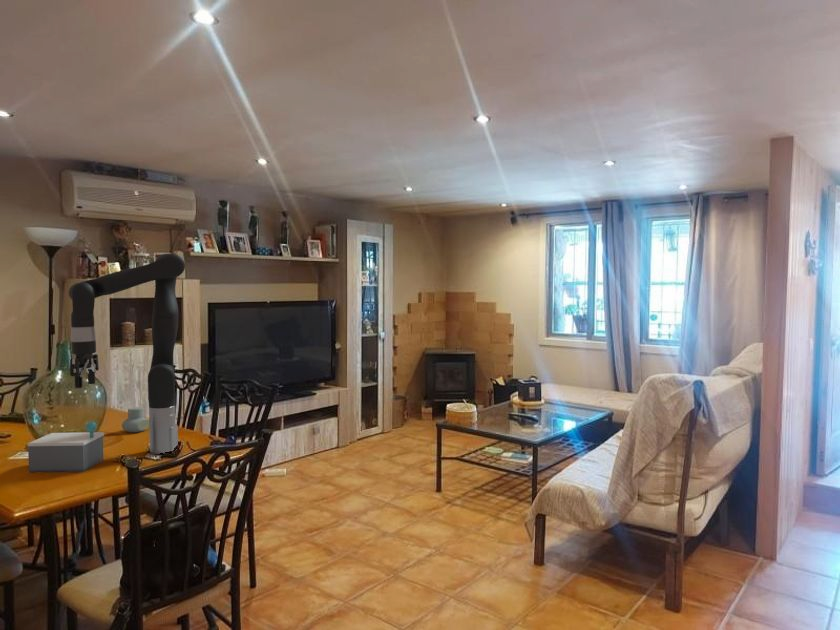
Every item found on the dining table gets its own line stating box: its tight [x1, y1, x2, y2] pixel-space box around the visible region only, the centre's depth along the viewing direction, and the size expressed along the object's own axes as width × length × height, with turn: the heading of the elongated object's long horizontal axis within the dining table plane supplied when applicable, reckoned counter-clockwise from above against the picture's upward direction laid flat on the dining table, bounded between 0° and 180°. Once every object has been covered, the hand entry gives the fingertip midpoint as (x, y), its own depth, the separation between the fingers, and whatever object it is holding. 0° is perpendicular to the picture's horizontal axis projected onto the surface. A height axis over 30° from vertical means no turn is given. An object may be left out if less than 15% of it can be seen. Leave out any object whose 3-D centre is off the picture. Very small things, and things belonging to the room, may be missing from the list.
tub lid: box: [27, 421, 105, 447], centre depth 208 cm, size 19×14×6 cm
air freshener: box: [121, 406, 149, 433], centre depth 260 cm, size 11×8×10 cm
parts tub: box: [27, 435, 105, 474], centre depth 209 cm, size 18×14×9 cm
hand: (85, 385), depth 210 cm, fingers open, 8 cm apart
